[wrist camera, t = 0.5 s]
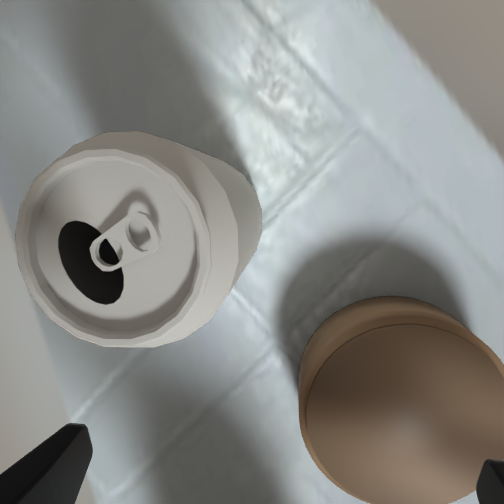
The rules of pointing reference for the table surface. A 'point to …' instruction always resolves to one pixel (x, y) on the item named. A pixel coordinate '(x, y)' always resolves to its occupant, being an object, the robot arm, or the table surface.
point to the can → (135, 238)
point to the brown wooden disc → (400, 402)
